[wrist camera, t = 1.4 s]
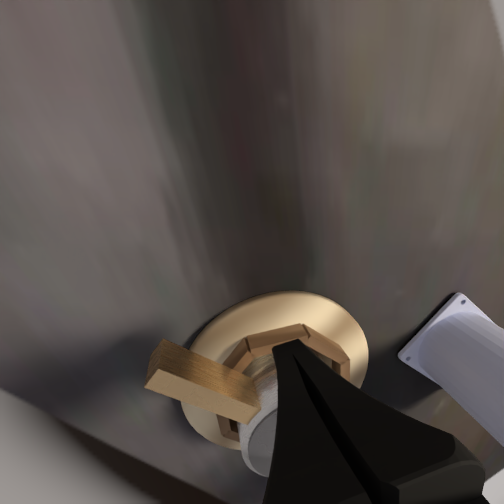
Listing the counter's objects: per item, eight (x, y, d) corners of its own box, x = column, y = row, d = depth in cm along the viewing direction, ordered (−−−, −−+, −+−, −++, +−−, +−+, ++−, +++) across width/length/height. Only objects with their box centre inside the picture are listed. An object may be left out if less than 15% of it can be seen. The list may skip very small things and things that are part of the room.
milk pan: (344, 367, 23) (380, 418, 19) (286, 430, 25) (306, 492, 20) (193, 283, 18) (193, 328, 13) (128, 371, 19) (109, 438, 15)
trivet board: (395, 342, 25) (415, 361, 23) (286, 456, 28) (295, 484, 25) (261, 252, 19) (271, 266, 17) (140, 408, 22) (134, 439, 20)
